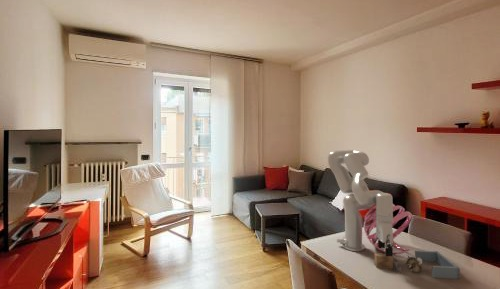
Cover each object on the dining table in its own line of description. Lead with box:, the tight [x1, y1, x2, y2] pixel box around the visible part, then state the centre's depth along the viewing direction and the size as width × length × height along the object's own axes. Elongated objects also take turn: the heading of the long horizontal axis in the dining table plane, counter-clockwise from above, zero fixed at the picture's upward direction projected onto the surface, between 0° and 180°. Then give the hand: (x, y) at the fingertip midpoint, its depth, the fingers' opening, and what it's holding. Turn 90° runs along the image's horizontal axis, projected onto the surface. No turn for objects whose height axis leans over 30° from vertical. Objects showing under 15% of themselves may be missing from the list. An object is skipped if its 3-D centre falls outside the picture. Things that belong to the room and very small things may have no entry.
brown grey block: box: [373, 252, 402, 274], centre depth 134 cm, size 10×11×6 cm
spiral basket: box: [363, 203, 414, 255], centre depth 152 cm, size 28×28×27 cm
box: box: [414, 250, 461, 280], centre depth 131 cm, size 11×17×5 cm, turn 173°
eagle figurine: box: [405, 255, 423, 275], centre depth 131 cm, size 8×7×9 cm
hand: (385, 251), depth 133 cm, fingers open, 9 cm apart
